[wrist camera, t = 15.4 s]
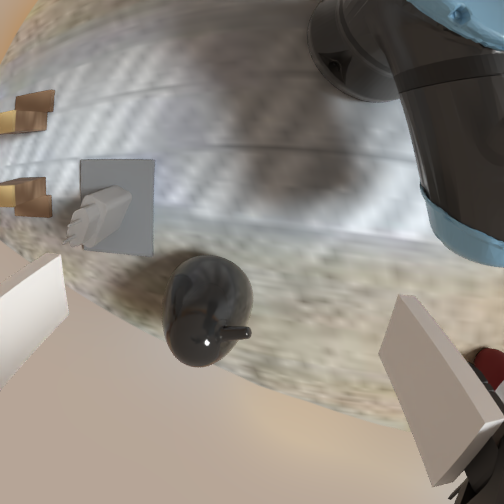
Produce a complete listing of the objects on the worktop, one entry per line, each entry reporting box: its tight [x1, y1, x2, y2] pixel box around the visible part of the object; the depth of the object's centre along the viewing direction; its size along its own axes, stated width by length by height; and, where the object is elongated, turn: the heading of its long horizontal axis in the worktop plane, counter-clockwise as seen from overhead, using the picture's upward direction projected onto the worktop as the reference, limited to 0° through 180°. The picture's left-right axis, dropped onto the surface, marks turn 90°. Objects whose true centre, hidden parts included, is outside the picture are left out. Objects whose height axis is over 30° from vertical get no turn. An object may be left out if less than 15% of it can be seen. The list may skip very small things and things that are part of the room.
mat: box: [81, 159, 155, 257], centre depth 38 cm, size 12×10×1 cm
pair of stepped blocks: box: [0, 90, 55, 218], centre depth 32 cm, size 18×7×8 cm, turn 175°
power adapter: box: [62, 185, 132, 248], centre depth 32 cm, size 3×5×12 cm, turn 150°
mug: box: [474, 348, 504, 403], centre depth 41 cm, size 10×8×10 cm
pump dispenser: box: [162, 255, 253, 367], centre depth 34 cm, size 10×10×15 cm
